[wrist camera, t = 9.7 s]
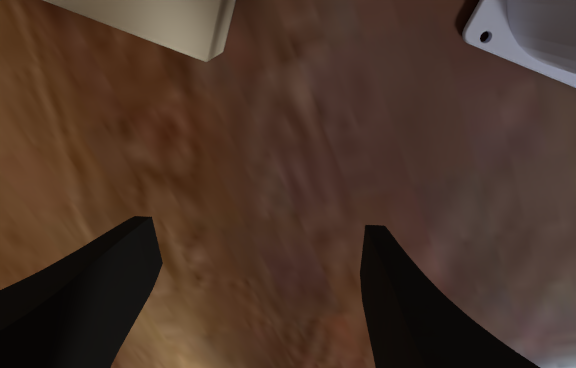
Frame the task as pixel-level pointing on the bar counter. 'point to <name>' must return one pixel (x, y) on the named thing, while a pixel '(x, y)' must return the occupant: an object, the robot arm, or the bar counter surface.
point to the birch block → (164, 21)
